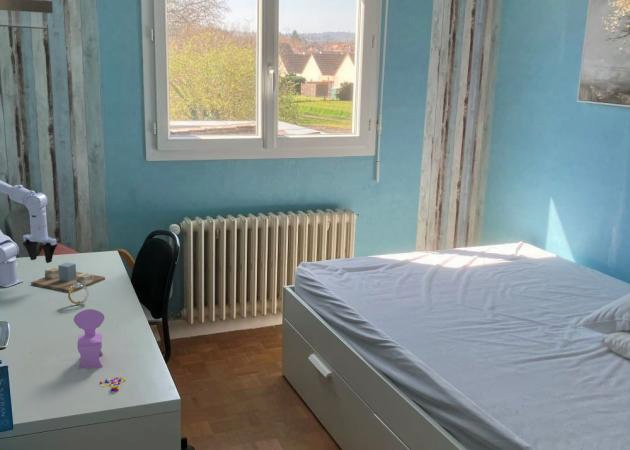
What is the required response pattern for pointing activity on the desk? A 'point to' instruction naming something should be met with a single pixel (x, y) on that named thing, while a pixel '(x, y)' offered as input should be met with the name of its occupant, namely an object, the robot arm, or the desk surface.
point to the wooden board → (53, 281)
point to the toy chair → (89, 337)
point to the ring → (74, 289)
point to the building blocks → (113, 383)
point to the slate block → (67, 272)
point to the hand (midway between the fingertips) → (41, 260)
